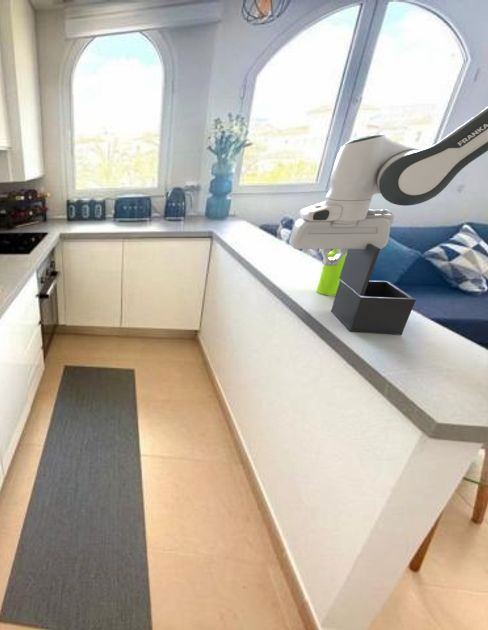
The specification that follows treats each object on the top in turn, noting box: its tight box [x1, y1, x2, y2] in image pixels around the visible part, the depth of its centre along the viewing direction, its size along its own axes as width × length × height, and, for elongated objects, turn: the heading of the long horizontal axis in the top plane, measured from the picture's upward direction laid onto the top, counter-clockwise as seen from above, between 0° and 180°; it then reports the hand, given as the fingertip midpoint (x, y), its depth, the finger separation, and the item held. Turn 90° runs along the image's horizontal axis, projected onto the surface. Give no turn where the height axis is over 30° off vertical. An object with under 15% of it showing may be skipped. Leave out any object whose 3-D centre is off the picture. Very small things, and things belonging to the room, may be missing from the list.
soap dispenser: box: [316, 249, 347, 297], centre depth 107 cm, size 6×7×20 cm
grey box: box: [330, 280, 417, 336], centre depth 91 cm, size 11×13×10 cm
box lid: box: [339, 244, 381, 296], centre depth 88 cm, size 12×13×1 cm
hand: (329, 265), depth 89 cm, fingers closed
